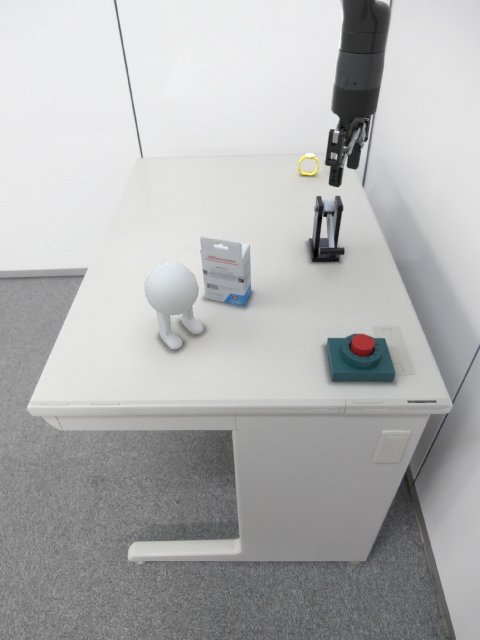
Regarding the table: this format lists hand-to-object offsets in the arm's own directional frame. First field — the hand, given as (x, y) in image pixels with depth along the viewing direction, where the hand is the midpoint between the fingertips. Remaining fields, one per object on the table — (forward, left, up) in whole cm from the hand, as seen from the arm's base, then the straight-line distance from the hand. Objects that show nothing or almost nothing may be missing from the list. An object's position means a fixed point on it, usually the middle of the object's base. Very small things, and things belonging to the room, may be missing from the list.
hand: (343, 176), depth 82 cm
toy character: (+37, +2, -21) cm, 42 cm away
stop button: (+13, +25, -17) cm, 33 cm away
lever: (0, -3, -13) cm, 14 cm away
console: (+13, +25, -21) cm, 35 cm away
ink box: (+24, -3, -21) cm, 32 cm away
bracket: (-2, -6, -21) cm, 22 cm away
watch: (-22, -41, -21) cm, 51 cm away
